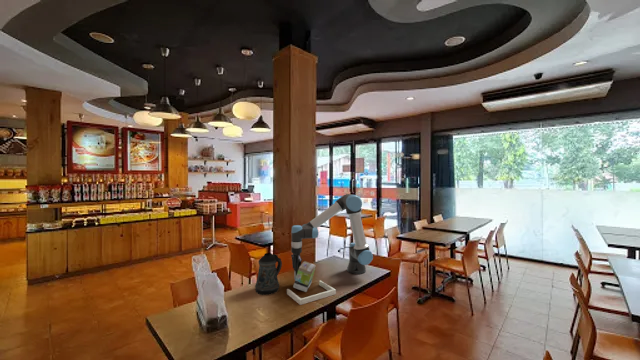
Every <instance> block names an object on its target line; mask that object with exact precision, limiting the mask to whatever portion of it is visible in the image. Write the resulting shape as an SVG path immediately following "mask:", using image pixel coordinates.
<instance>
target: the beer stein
mask: <svg viewBox="0 0 640 360" xmlns="http://www.w3.org/2000/svg"><path fill="white" fill-rule="evenodd" d="M276 264H277V265H276ZM282 267H283V262H282V259H281V258H280V257H278V254H275V253H272V252H267V253H264V255H263V256H261V258H259V260H258V272H257V278H256V281H255V282H256V283H255V285H254V289H255V293H256V294H257V295H260V296H271V295H273V294H275V293H278V291H279V289H280V283H279V280H278V275H279V273H280V272H281V269H282Z"/></svg>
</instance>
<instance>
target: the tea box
mask: <svg viewBox="0 0 640 360" xmlns="http://www.w3.org/2000/svg"><path fill="white" fill-rule="evenodd" d="M316 266H317V265H316V264H313V263H311V262H308V261H306V260H304V261H302V262H301V266H300V267H299V269H298V272H297V276H296V279H294V283H293V286H292V288H294V289H297V290H299V291H302V292H305V293H307V292H308V290H309V288H310V286H311V284H312V281H313V278H314V275H315V271H316Z"/></svg>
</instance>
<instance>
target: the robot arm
mask: <svg viewBox="0 0 640 360" xmlns="http://www.w3.org/2000/svg"><path fill="white" fill-rule="evenodd" d="M362 206H363V201H362V199H361V197H359V196H358V195H356V194H351V193H345V194H344V195H342V196H341V197H339V198H338V199H336V200H335V201H334V203H333V204H331V205H330V207H328V208H326V209H324V211H322V212H321V213H320V214H318V215H317V216H316V217H314V218H313V219H311V220H310V221H309V222H307V223H303V224H302V225H299V224H297V225H295V224H294V225H292V226H291V243H290V244H291V249H290V252H291V256H290V257H291V262H292V263H291V265H292V269H293V271H294V273H293V275H294V277H293V278H294V279H293V280H295V279H296V276H297V272H298V269H299V267H300V266H301V264H302V262H303V258H302V257H301V253H302V252H303V250H302V247H303V241H302V240H303V239H317V238H318V237H319V229H318V228H320V227H321V226H322V225H323V224H325V223H326V222H327V221H329V220H330V219H332V218H333V217H335V215H337V214H338V213H339V212H343V211H344V210H345V211H346V213H345V214H346V215H348V218H349V222H350V227H351V232H352V236H353V237H352V238H353V240H354V242H351V243H349V245H348V253H349V255H348V257H349V259H348V260H349V261H348V265H347V269H346V270H347V272H348V273H350V274H353V275H354V274H355V275H360V274H365V273H366V271H367V267H366V266H367V265H369V264H371V263H372V261H373V259H374V255H373V253H372V251H371V249H370V245H369V244H368V243H367V241H366V236H365V231H364V226H363V222H362V216H361V212H362Z"/></svg>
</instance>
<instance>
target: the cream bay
mask: <svg viewBox="0 0 640 360" xmlns="http://www.w3.org/2000/svg"><path fill="white" fill-rule="evenodd" d="M318 285H319V286H320V287H322V288H323V289H325V290H326V291H323V292H319V293H317V294H312V295H309V296H306V297H300V296H299V295H297V294H296V293H295V292H293V291H292V290H291V289H290V288H287V289H286V295H287V296H289V297H290V298H291V299H293V301H294V302H296V303H298V305H300V306H301V305H305V304H308V303H311V302H314V301H318V300H322V299H325V298H328V297H331V296H334V295H336V294H337V289H335V288H334V287H332V286H331V285H329V284H327V283H326V282H324V281H323V280H318Z"/></svg>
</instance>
